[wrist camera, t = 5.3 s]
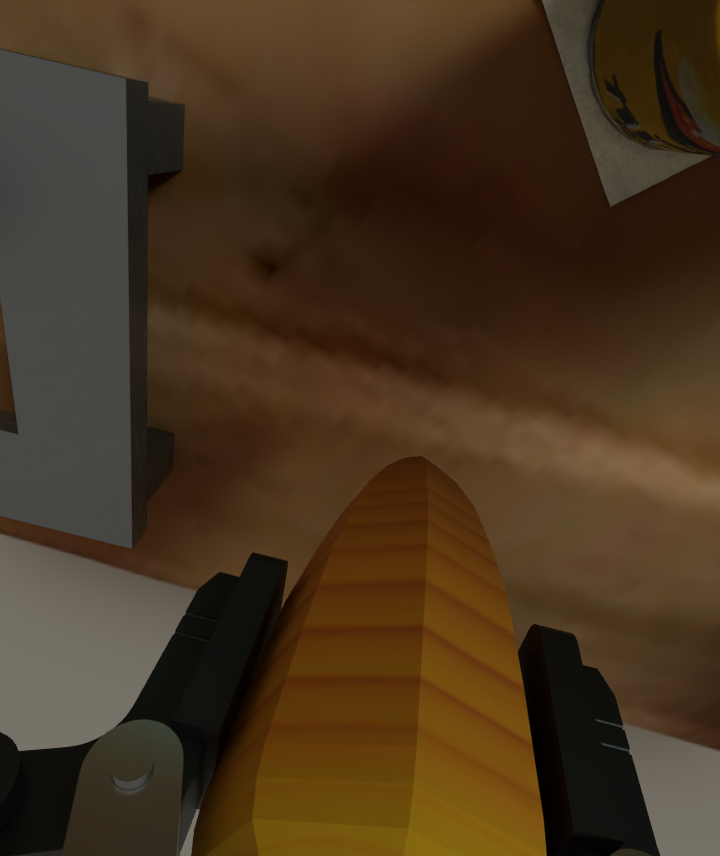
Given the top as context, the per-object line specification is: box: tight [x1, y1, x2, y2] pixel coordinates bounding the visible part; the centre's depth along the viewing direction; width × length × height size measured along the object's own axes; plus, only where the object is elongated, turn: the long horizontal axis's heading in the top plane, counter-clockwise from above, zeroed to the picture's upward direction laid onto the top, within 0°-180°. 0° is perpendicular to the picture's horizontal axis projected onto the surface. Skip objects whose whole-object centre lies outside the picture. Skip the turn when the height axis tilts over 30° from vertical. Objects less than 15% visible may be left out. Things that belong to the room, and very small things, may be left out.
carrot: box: [191, 456, 547, 856], centre depth 10 cm, size 5×5×15 cm
